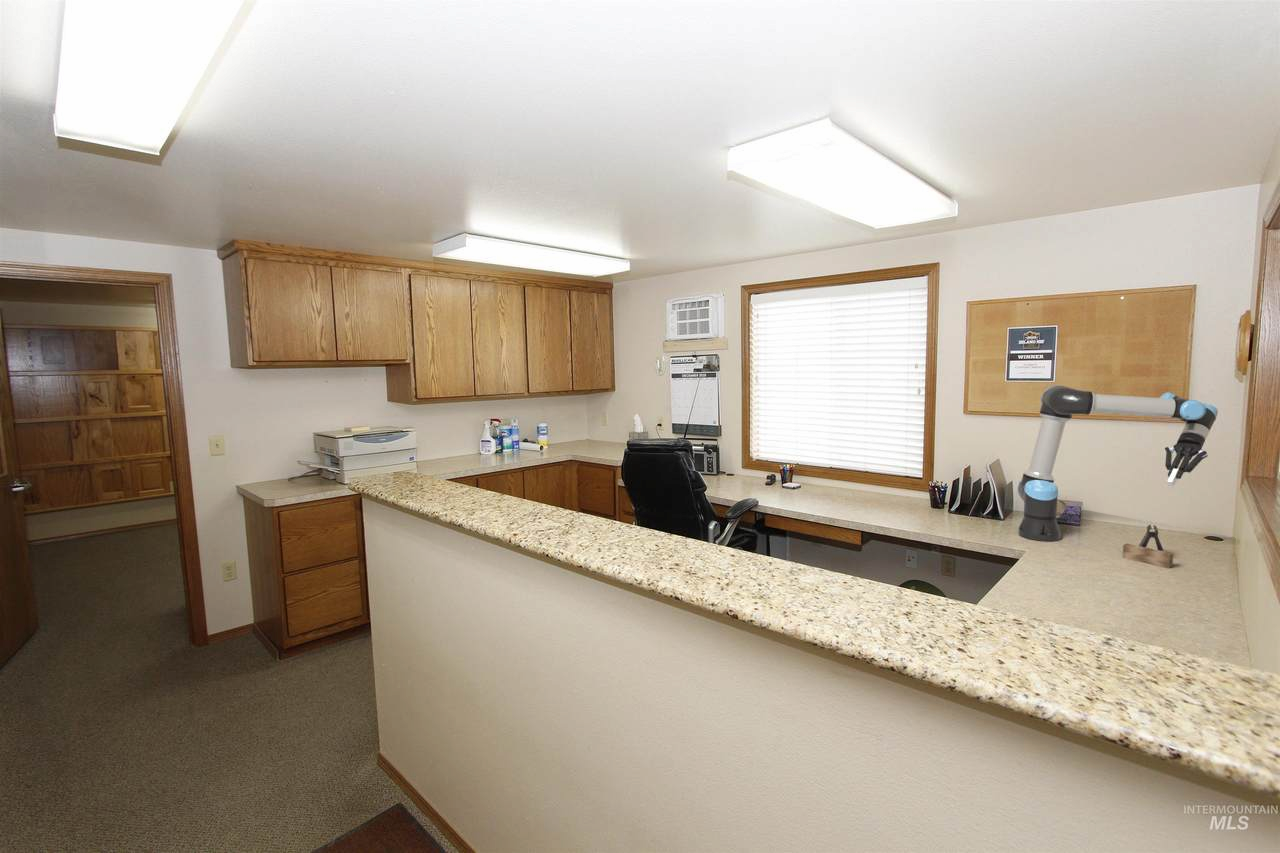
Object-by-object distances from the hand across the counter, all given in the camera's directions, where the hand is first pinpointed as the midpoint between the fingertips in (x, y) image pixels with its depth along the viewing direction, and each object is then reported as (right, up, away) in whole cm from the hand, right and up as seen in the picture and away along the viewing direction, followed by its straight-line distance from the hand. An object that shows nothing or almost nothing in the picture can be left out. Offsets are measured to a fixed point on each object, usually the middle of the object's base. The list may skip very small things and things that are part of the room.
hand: (1170, 483), depth 227 cm
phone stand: (-11, -28, -3) cm, 30 cm away
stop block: (-16, -29, -8) cm, 34 cm away
